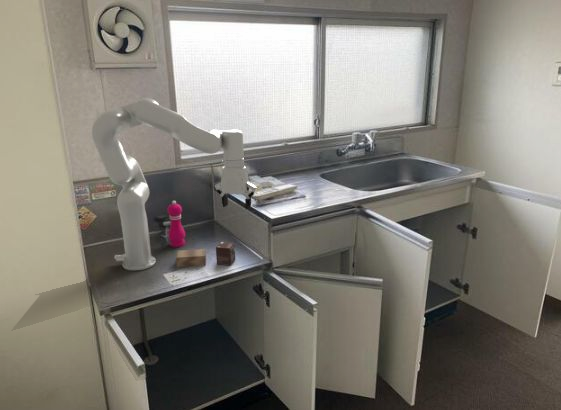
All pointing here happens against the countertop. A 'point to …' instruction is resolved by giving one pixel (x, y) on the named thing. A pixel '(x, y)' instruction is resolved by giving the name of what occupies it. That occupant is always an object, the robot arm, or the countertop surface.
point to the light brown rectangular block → (191, 258)
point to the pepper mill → (176, 225)
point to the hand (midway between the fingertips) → (236, 207)
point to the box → (225, 253)
